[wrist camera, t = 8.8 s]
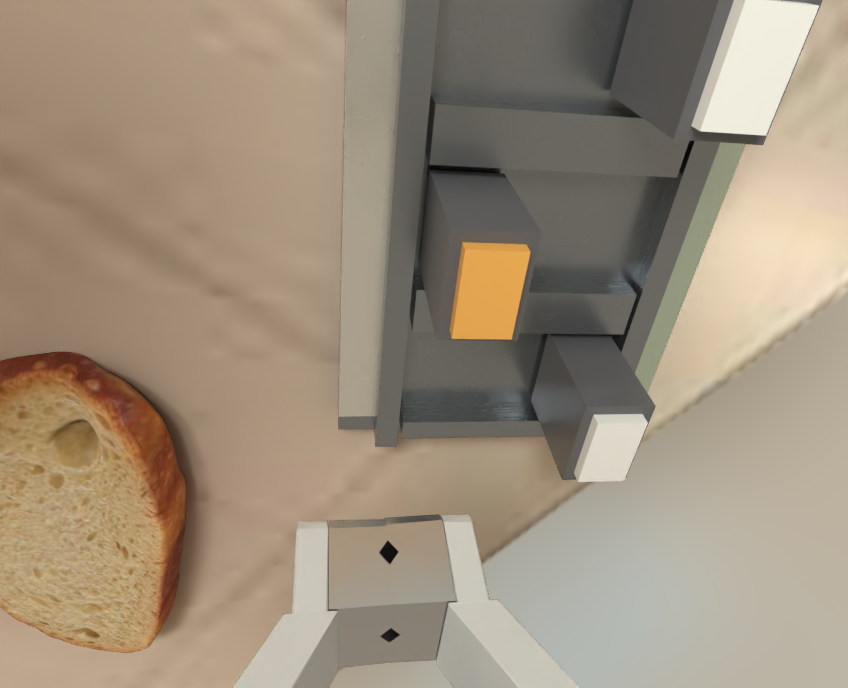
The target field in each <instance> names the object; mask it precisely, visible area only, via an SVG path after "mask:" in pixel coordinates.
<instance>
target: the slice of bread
mask: <svg viewBox="0 0 848 688" xmlns="http://www.w3.org/2000/svg"><path fill="white" fill-rule="evenodd" d="M185 496H186V486H185V480H184V476H183V475H182V473H181V472H180V470H179V468H178V464H177V460H176V454H175V450H174V447H173V443H172V440H171V437H170V434H169V432H168V430H167V427H166V425H165V423H164V421H163V420H162V418H161V417H160V415H159V414H158V413H157V411H156V410H155V409H154V408H153V407H152V406H151V405H150V403H149V402H148V401H147V400H146V399H145V398H144V397H143V396H142V395H140V394H139V393H138V392H137V391H136V390H135V389H134V388H133V387H131V386H130V385H129V384H128V383H127V382H125V381H124V380H123V379H121V378H120V377H118V376H116V375H114V374H112V373H110V372H108V371H106V370H104V369H102V368H101V367H99V366H98V365H97V364H95V363H94V362H93V361H92V360H91V359H89V358H88V357H86V356H83V355H81V354H77V353H71V352H52V353H45V354H37V355H29V356H22V357H16V358H11V359H6V360H2V361H0V608H2V609H3V610H5V611H6V612H7V613H8V614H10V615H11V616H12V617H13V618H15V619H16V620H18V621H21V622H23V623H26V624H27V625H30V626H32V627H35V628H37V629H38V630H40V631H42V632H44V633H45V634H47V635H48V636H50V637H53V638H56V639H60V640H63V641H65V642H68V643H71V644H74V645H78V646H83V647H88V648H92V649H97V650H105V651H115V652H122V653H130V652H134V651H140V650H142V649H145V648H148V647H149V646H150V645H151V643H152V642H153V640H154V639H155V637H156V635H157V634H158V632H159V631H160V629H161V628H162V626H163V624H164V623H165V621H166V619H167V617H168V615H169V613H170V611H171V609H172V606H173V602H174V599H175V595H176V590H177V584H178V579H179V563H180V556H181V549H182V542H183V535H184V529H185Z"/></svg>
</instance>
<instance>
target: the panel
mask: <svg viewBox="0 0 848 688" xmlns="http://www.w3.org/2000/svg"><path fill="white" fill-rule="evenodd" d="M632 3H633V0H346V39H345V90H344V141H343V191H342V242H341V293H340V344H339V395H338V429H374V437H375V447H387V446H397V436H398V429H400V430H401V438H402V439H404V438H467V437H530V436H545V435H544V432H543V430H542V427H541V425H540V422H539V420H538V417H537V415H536V412H535V410H534V407H533V405H532V402H531V398H532V394H533V390H534V386H535V383H536V379H537V375H538V371H539V367H540V363H541V359H542V355H543V351H544V347H545V343H546V340H547V336H548V334H610V336H611V337H612V339H613V340H614V342H615V343H616V345H617V347H618V348H619V350H620V351H621V353H622V354H623V356H624V358H625V359H626V361H627V362H628V364H629V365H630V367H631V369H632V370H633V372H634V373H635V375H636V376H637V378H638V380H639V381H640V383H641V384H642V386H643V387H644V389H645V390H646V392H648V390H649V387H650V385H651V382H652V380H653V377H654V375H655V372H656V369H657V367H658V364H659V362H660V359H661V357H662V354H663V352H664V349H665V347H666V344H667V342H668V339H669V337H670V334H671V332H672V329H673V326H674V324H675V321H676V319H677V316H678V314H679V311H680V309H681V306H682V304H683V301H684V299H685V296H686V294H687V291H688V288H689V286H690V283H691V281H692V278H693V276H694V273H695V271H696V268H697V266H698V263H699V261H700V258H701V256H702V253H703V251H704V248H705V245H706V243H707V240H708V238H709V235H710V233H711V230H712V228H713V225H714V223H715V220H716V218H717V215H718V213H719V210H720V207H721V205H722V202H723V200H724V197H725V195H726V192H727V190H728V187H729V185H730V182H731V180H732V177H733V175H734V172H735V169H736V167H737V164H738V162H739V159H740V157H741V154H742V152H743V149H744V147H745V144H738V143H722V142H706V141H690V140H674V139H672V138H671V137H669V136H668V135H666V134H665V133H663V132H662V131H661V130H659V129H658V128H656V127H655V126H654V125H652V124H651V123H649V122H648V121H646V120H645V119H644V118H642V117H641V116H639V115H638V114H636V113H635V112H634V111H632V110H631V109H629V108H628V107H626V106H625V105H624V104H622V103H621V102H619V101H618V100H616V99H615V98H614V97H612V96H611V95H609V93H610V89H611V86H612V82H613V78H614V74H615V70H616V66H617V62H618V58H619V54H620V50H621V46H622V43H623V39H624V35H625V31H626V27H627V23H628V19H629V15H630V11H631V7H632ZM429 170H444V171H463V172H483V173H502V174H505V175H506V177H507V179H508V180H509V182H510V183H511V185H512V186H513V188H514V190H515V191H516V193H517V194H518V196H519V198H520V199H521V201H522V202H523V204H524V206H525V207H526V209H527V210H528V212H529V214H530V215H531V217H532V218H533V220H534V221H535V223H536V225H537V226H538V228H539V229H540V231H541V238H540V242H539V247H538V251H537V256H536V260H535V265H534V269H533V274H532V278H531V283H530V287H529V292H528V296H527V301H526V305H525V310H524V314H523V319H522V323H521V327H520V332H519V336H518V341H484V340H436V336H435V332H434V328H433V324H432V320H431V315H430V311H429V307H428V303H427V298H426V294H425V290H424V286H423V281H422V277H421V273H420V269H419V266H420V256H421V246H422V236H423V227H424V217H425V207H426V197H427V188H428V178H429Z"/></svg>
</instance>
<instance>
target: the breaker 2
mask: <svg viewBox="0 0 848 688" xmlns="http://www.w3.org/2000/svg"><path fill="white" fill-rule="evenodd" d="M821 3H822V0H633V3H632V7H631V11H630V15H629V19H628V23H627V27H626V31H625V35H624V39H623V43H622V46H621V50H620V54H619V58H618V62H617V66H616V70H615V74H614V78H613V82H612V86H611V89H610V93H609V95H611V96H612V97H614V98H615V99H616V100H618V101H619V102H621V103H622V104H624V105H625V106H626V107H628V108H629V109H631V110H632V111H634V112H635V113H636V114H638V115H639V116H641V117H642V118H644V119H645V120H646V121H648V122H649V123H651V124H652V125H654V126H655V127H656V128H658V129H659V130H661V131H662V132H663V133H665V134H666V135H668V136H669V137H671V138H672V139H674V140H690V141H706V142H722V143H738V144H754V145H763V144H764V141H765V139H766V137H767V134H768V132H769V129H770V127H771V124H772V122H773V120H774V117H775V115H776V112H777V110H778V107H779V105H780V102H781V100H782V98H783V95H784V93H785V90H786V88H787V85H788V83H789V81H790V78H791V76H792V73H793V71H794V68H795V66H796V64H797V61H798V59H799V56H800V54H801V51H802V49H803V47H804V44H805V42H806V39H807V37H808V34H809V32H810V30H811V27H812V25H813V22H814V20H815V17H816V15H817V13H818V10H819V8H820V5H821Z"/></svg>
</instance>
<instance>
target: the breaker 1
mask: <svg viewBox="0 0 848 688" xmlns="http://www.w3.org/2000/svg"><path fill="white" fill-rule="evenodd" d="M531 402H532V405H533V407H534V410H535V412H536V415H537V417H538V420H539V422H540V425H541V427H542V430H543V432H544V435H545V437H546V440H547V442H548V445H549V447H550V450H551V452H552V455H553V458H554V460H555V463H556V465H557V468H558V470H559V473H560V475H561V478H562V480H574V479H577V482H601V481H624V480H625V478H626V477H627V474H628V471H629V469H630V467H631V464H632V462H633V459H634V457H635V455H636V452H637V450H638V447H639V445H640V443H641V440H642V438H643V435H644V433H645V430H646V428H647V426H648V423H649V421H650V418H651V416H652V413H653V411H654V409H655V405H654V403H653V401H652V400H651V398H650V397H649V395H648V394H647V392H646V390H645V389H644V387H643V386H642V384H641V383H640V381H639V380H638V378H637V376H636V375H635V373H634V372H633V370H632V369H631V367H630V365H629V364H628V362H627V361H626V359H625V358H624V356H623V354H622V353H621V351H620V350H619V348H618V347H617V345H616V343H615V342H614V340H613V339H612V337H611V336H610V334H548V336H547V340H546V343H545V347H544V351H543V355H542V359H541V363H540V367H539V371H538V375H537V379H536V383H535V386H534V390H533V394H532V398H531Z"/></svg>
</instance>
